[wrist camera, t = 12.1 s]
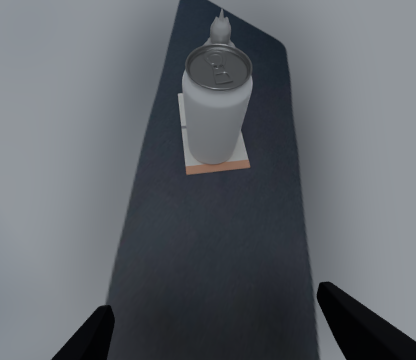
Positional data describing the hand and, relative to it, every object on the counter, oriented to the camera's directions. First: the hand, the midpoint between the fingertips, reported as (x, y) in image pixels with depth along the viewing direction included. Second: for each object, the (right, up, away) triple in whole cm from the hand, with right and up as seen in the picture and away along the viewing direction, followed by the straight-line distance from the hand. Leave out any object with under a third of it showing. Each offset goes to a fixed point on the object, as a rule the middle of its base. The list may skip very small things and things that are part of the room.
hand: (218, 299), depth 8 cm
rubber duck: (+1, +25, +26) cm, 36 cm away
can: (0, +10, +19) cm, 21 cm away
